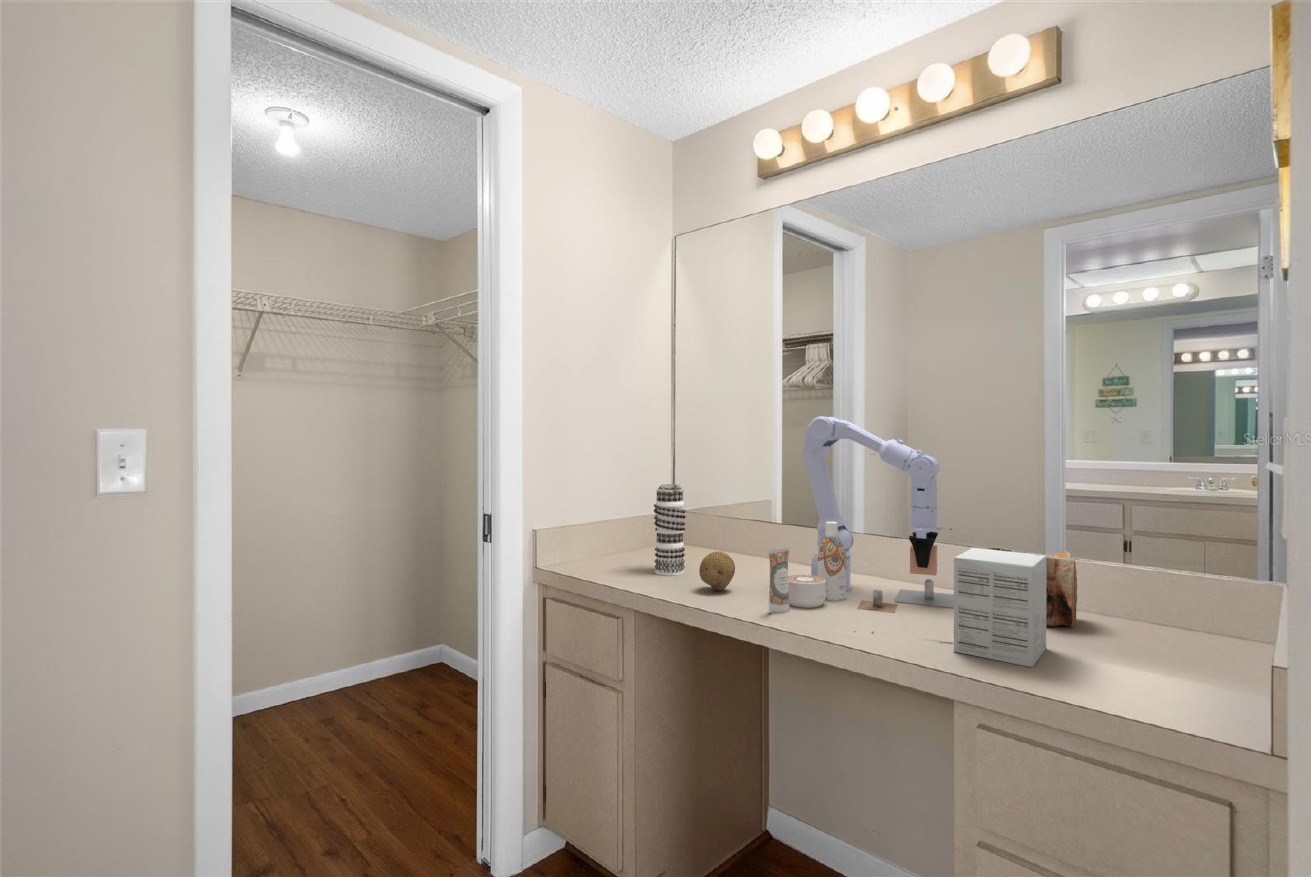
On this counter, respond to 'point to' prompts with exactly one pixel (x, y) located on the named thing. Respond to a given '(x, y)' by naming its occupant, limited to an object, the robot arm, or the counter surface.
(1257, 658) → the counter surface
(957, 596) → the supplement box
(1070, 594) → the stone
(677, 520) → the decorative candle
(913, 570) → the terracotta collar
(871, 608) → the walnut stand
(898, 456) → the robot arm
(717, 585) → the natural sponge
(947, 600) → the board
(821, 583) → the cosmetic set
